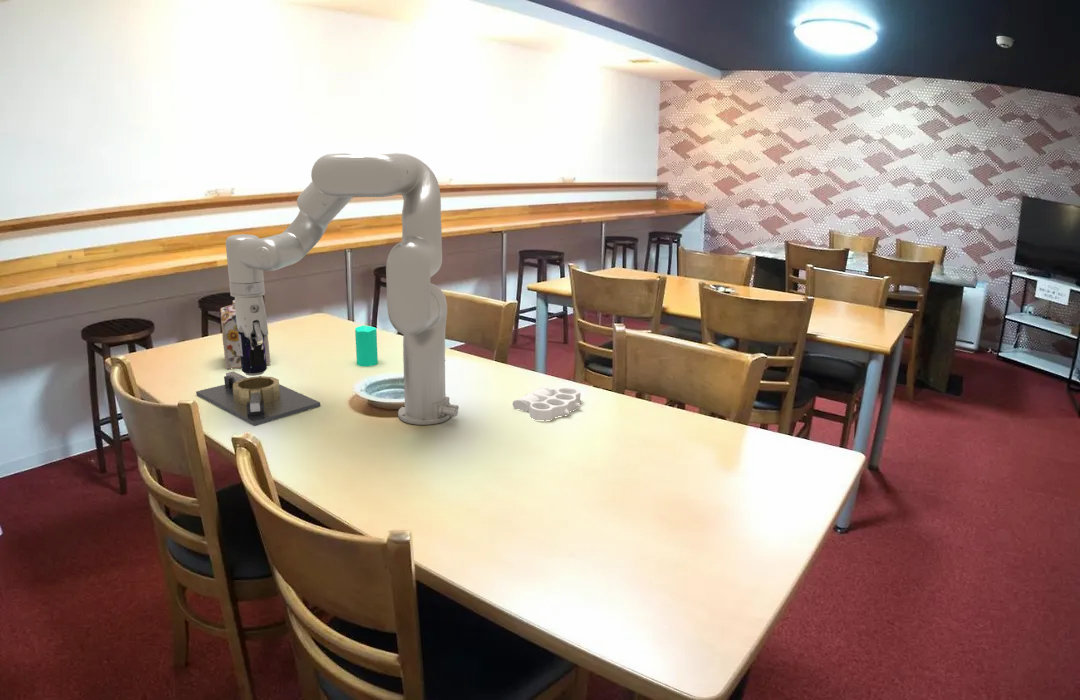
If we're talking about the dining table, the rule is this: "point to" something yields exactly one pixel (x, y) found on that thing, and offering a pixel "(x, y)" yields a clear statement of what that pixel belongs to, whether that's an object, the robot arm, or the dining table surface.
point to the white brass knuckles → (549, 402)
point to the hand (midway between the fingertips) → (253, 361)
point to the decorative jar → (234, 338)
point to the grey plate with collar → (256, 398)
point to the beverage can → (246, 358)
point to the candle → (366, 345)
